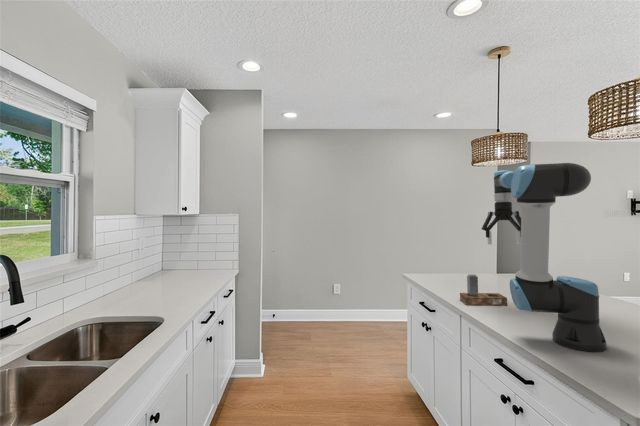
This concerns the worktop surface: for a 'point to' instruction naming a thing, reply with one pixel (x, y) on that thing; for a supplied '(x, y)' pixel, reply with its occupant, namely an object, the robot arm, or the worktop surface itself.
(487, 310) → the worktop surface
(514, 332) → the worktop surface
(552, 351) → the worktop surface
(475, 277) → the plug
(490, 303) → the socket block
